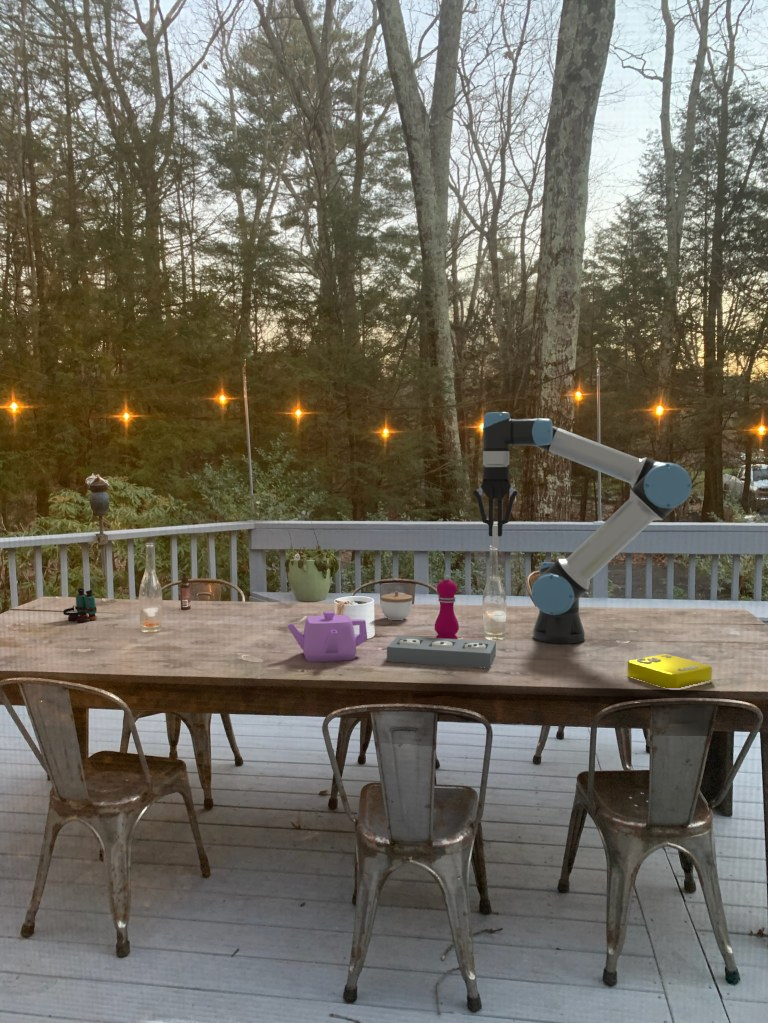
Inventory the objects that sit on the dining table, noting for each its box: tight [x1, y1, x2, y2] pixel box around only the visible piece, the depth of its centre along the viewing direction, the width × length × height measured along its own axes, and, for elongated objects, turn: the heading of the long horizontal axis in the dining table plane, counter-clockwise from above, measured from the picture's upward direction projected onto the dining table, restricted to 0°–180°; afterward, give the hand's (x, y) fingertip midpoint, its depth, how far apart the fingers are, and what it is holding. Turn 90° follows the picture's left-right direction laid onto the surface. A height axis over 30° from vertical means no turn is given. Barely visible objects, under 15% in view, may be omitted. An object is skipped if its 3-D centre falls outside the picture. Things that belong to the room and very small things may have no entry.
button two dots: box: [400, 639, 420, 646], centre depth 209 cm, size 6×6×4 cm
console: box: [386, 635, 497, 669], centre depth 207 cm, size 28×13×4 cm, turn 76°
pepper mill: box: [434, 574, 460, 639], centre depth 225 cm, size 7×7×20 cm
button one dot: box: [432, 641, 453, 648], centre depth 207 cm, size 6×6×4 cm
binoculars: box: [63, 587, 98, 624], centre depth 255 cm, size 9×11×10 cm
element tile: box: [627, 653, 713, 688], centre depth 188 cm, size 15×15×5 cm
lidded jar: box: [380, 590, 413, 621], centre depth 258 cm, size 11×11×9 cm
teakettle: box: [286, 610, 368, 663], centre depth 210 cm, size 17×17×12 cm
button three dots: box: [465, 643, 486, 650], centre depth 205 cm, size 6×6×4 cm
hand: (495, 547), depth 221 cm, fingers closed
